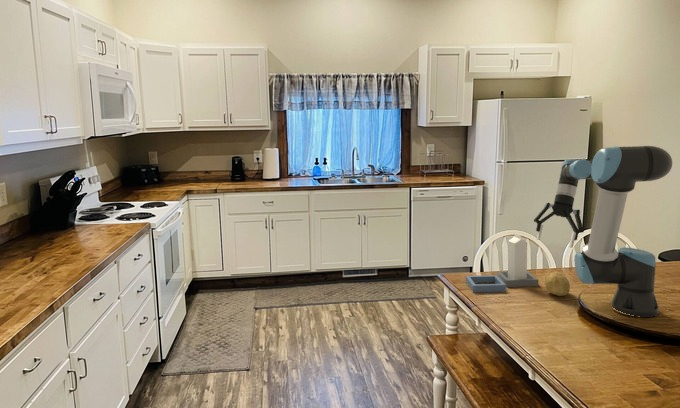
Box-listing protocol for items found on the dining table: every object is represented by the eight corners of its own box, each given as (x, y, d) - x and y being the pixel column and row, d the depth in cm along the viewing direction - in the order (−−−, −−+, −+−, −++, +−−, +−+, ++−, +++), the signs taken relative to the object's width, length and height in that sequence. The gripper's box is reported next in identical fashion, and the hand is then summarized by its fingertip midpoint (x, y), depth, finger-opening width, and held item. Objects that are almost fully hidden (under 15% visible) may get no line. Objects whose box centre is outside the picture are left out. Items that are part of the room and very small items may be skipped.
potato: (540, 297, 197) (540, 275, 196) (549, 287, 208) (550, 266, 207) (566, 301, 191) (567, 278, 189) (574, 291, 202) (575, 269, 201)
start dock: (538, 286, 211) (538, 279, 210) (506, 287, 211) (506, 280, 211) (527, 276, 224) (527, 270, 224) (497, 277, 225) (497, 271, 225)
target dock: (505, 291, 205) (505, 284, 205) (473, 292, 206) (472, 285, 206) (496, 281, 219) (496, 275, 219) (465, 282, 220) (465, 276, 219)
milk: (519, 279, 221) (520, 232, 218) (526, 283, 215) (527, 235, 212) (507, 280, 220) (508, 233, 217) (514, 284, 214) (515, 236, 211)
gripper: (592, 203, 208) (581, 250, 207) (533, 190, 212) (522, 236, 211) (598, 201, 200) (587, 250, 199) (538, 187, 204) (526, 235, 203)
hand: (554, 243), depth 205 cm, fingers open, 13 cm apart
